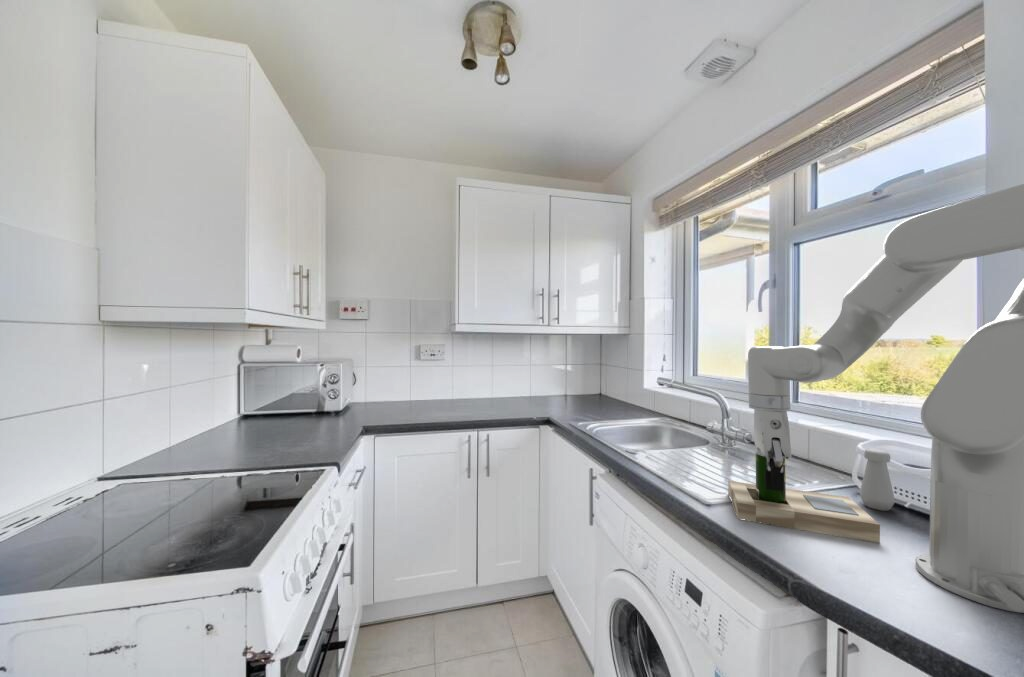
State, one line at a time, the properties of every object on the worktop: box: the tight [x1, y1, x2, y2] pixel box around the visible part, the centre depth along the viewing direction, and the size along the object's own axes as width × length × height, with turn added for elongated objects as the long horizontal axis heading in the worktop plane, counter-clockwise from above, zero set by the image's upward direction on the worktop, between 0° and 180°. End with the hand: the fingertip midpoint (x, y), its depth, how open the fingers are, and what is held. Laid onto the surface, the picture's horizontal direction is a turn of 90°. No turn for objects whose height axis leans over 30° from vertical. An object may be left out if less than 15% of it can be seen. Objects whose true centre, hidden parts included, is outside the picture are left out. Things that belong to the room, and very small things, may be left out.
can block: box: [727, 480, 881, 544], centre depth 80 cm, size 13×23×4 cm, turn 67°
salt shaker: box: [859, 448, 896, 512], centre depth 84 cm, size 6×6×13 cm
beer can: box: [755, 447, 787, 504], centre depth 81 cm, size 5×5×12 cm
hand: (770, 484), depth 81 cm, fingers closed on beer can, 5 cm apart
